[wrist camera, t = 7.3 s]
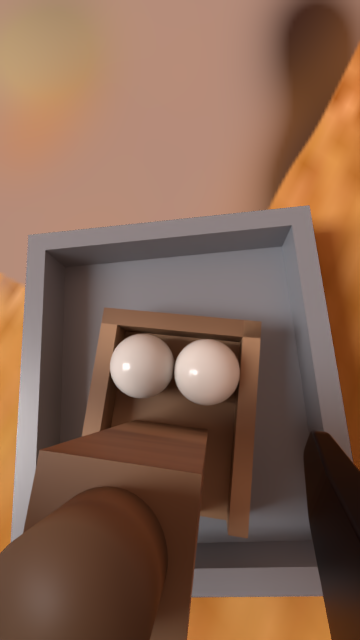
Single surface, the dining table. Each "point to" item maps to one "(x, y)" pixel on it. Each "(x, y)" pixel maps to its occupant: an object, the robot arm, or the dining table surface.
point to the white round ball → (142, 366)
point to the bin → (199, 300)
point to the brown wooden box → (132, 496)
